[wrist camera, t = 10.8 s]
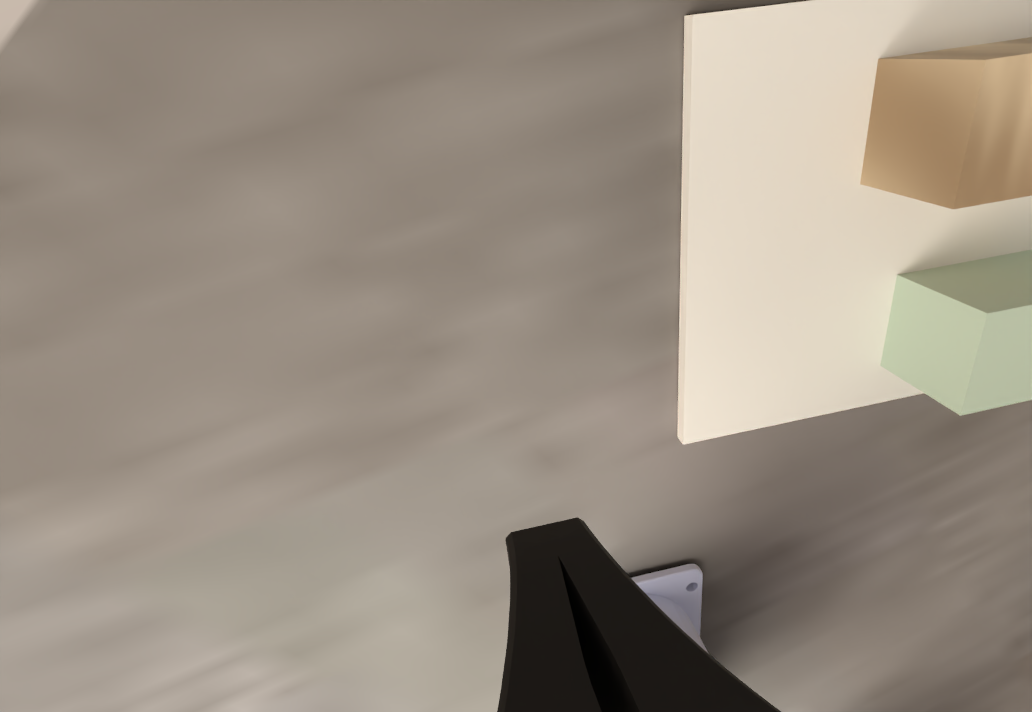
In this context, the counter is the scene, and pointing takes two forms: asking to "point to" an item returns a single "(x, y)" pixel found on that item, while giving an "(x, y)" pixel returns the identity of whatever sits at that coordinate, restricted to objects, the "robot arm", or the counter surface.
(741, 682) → the robot arm
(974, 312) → the sage block
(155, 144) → the counter surface
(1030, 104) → the oak block
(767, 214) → the mat
